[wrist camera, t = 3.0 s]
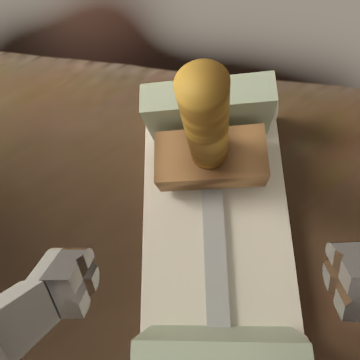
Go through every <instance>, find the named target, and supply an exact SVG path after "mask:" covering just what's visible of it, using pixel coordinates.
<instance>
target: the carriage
mask: <svg viewBox="0 0 360 360" xmlns="http://www.w3.org/2000/svg"><path fill="white" fill-rule="evenodd" d="M230 85H231V79H230V75H229V72H228V70H227V69H226V68H225V67H224V66H223V65H222V64H221V63H219V62H217V61H215V60H211V59H197V60H193V61H191V62H189V63H187V64H185V65H184V66H183V67H181V68H180V69H179V71H178V72H177V73H176V75H175V78H174V81H173V89H174V93H175V97H176V100H177V104H178V108H179V111H180V115H181V119H182V123H183V126H184V130H172V131H159V132H155V139H154V184H155V185H156V186H157V188H158V189H159V190H160V191H161V192H166V191H185V190H204V189H224V188H243V187H263V186H266V184H267V182H268V180H269V178H270V167H269V159H268V150H267V142H266V133H265V125H264V123H260V124H248V125H235V126H229V108H230Z"/></svg>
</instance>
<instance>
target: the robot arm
mask: <svg viewBox="0 0 360 360" xmlns="http://www.w3.org/2000/svg"><path fill="white" fill-rule="evenodd" d="M325 253H326V255H327V257H328V258H327V259H326V260H325V261H324V262H323V269H322V271H323V279H324V283H325V286H326V288H327V290H328V292H330V293H331V294H332V295H334V302H333V303H334V306H335V308H336V310H337V312H338V314H339V316H340V318H341V321H343V322H360V241H352V242H328V243H327V245H326V248H325ZM94 257H95V256H94V253H93V250H92V249H91V248H51V249H49V250H47V252H46V253H45V254H44V256H43V257H42V258H41V260H40V261H39V262H38V264H37V265H36V266H35V268H34V269H33V270H32V272H31V273H30V274H29V276H28V277H27V278H26V280H25V281H20V282H18V283H16V284H15V285H13V286H12V287H10V288H8V289H7V290H5V291H4V292H2V293H0V360H20V359H21V358H22V357H23V356H24V355H25V354H26V353H27V352H28V351H29V350H30V349H31V348H32V347H33V346H34V345H35V344H37V343H38V342H39V341H40V340H41V339H42V338H43V337H44V336H45V335H46V334H47V333H48V332H49V331H50V330H51V329H52V328H53V327H54V326H55V325H56V324H57V323H58V322H59V321H60V319H84V317H85V315H86V313H87V310H88V308H89V306H90V304H91V300H90V296H91V295H92V294H94V293H95V292H96V290H97V287H98V285H99V278H100V274H99V268H98V265H96V264H95V263H94V262H93V259H94Z"/></svg>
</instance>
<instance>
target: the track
mask: <svg viewBox="0 0 360 360" xmlns="http://www.w3.org/2000/svg"><path fill="white" fill-rule="evenodd" d="M230 79H231V85H230V108H229V126H235V125H248V124H260V123H264V125H265V133H266V142H267V150H268V159H269V167H270V178H269V180H268V182H267V184H266V186H263V187H243V188H224V189H204V190H185V191H166V192H161V191H160V190H159V189H158V188H157V186H156V185H155V184H154V139H155V132H159V131H172V130H184V126H183V123H182V119H181V115H180V111H179V108H178V104H177V100H176V97H175V93H174V89H173V81H166V82H156V83H147V84H140V98H139V114H140V116H141V118H142V119H143V121H144V123H145V125H146V133H145V171H144V209H143V246H142V284H141V322H140V334H139V335H137V336H136V337H135V338H133V339H132V340H131V354H130V360H314V354H313V347H312V343H311V342H310V341H309V339H308V337H307V336H306V335H304V328H303V320H302V312H301V305H300V297H299V290H298V282H297V275H296V267H295V259H294V252H293V244H292V237H291V229H290V221H289V214H288V206H287V199H286V191H285V183H284V176H283V168H282V161H281V153H280V145H279V138H278V130H277V123H276V118H277V115H278V93H277V86H276V78H275V71H264V72H254V73H245V74H235V75H230Z"/></svg>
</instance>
